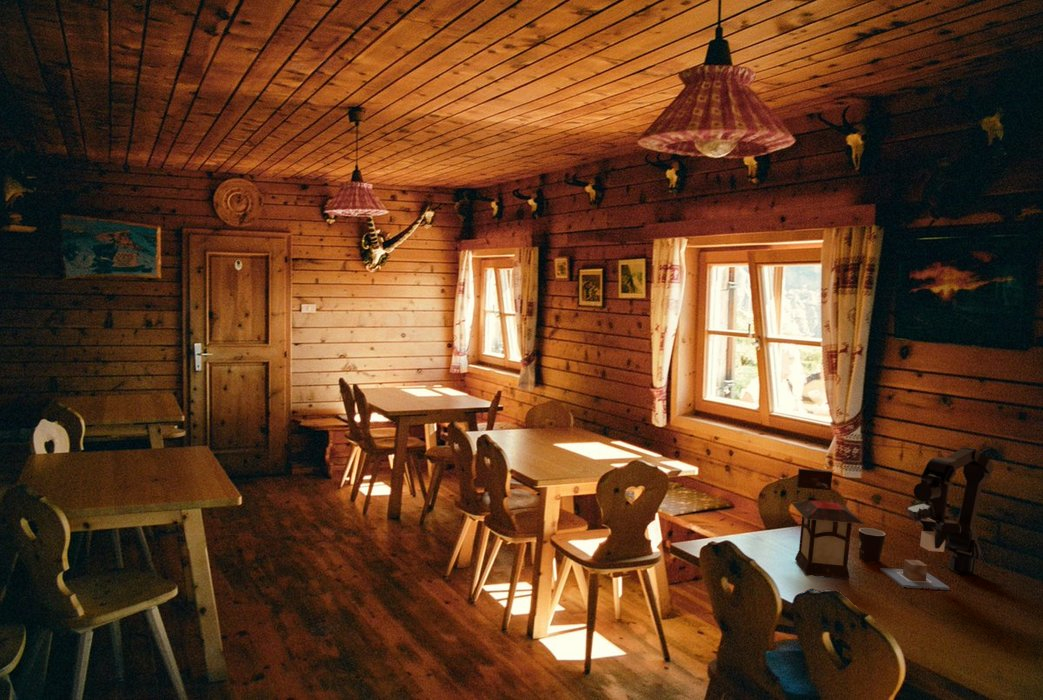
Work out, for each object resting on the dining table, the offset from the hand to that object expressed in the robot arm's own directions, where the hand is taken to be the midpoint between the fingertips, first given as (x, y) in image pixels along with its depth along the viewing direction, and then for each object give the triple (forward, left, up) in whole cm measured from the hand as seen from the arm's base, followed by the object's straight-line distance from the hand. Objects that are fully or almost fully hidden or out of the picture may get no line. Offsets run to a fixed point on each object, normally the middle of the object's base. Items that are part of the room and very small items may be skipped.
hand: (932, 545), depth 253 cm
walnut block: (+4, -2, -12) cm, 12 cm away
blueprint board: (+4, -2, -12) cm, 13 cm away
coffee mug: (+9, -21, -13) cm, 26 cm away
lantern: (+32, -10, -13) cm, 36 cm away
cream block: (0, 0, -1) cm, 1 cm away
